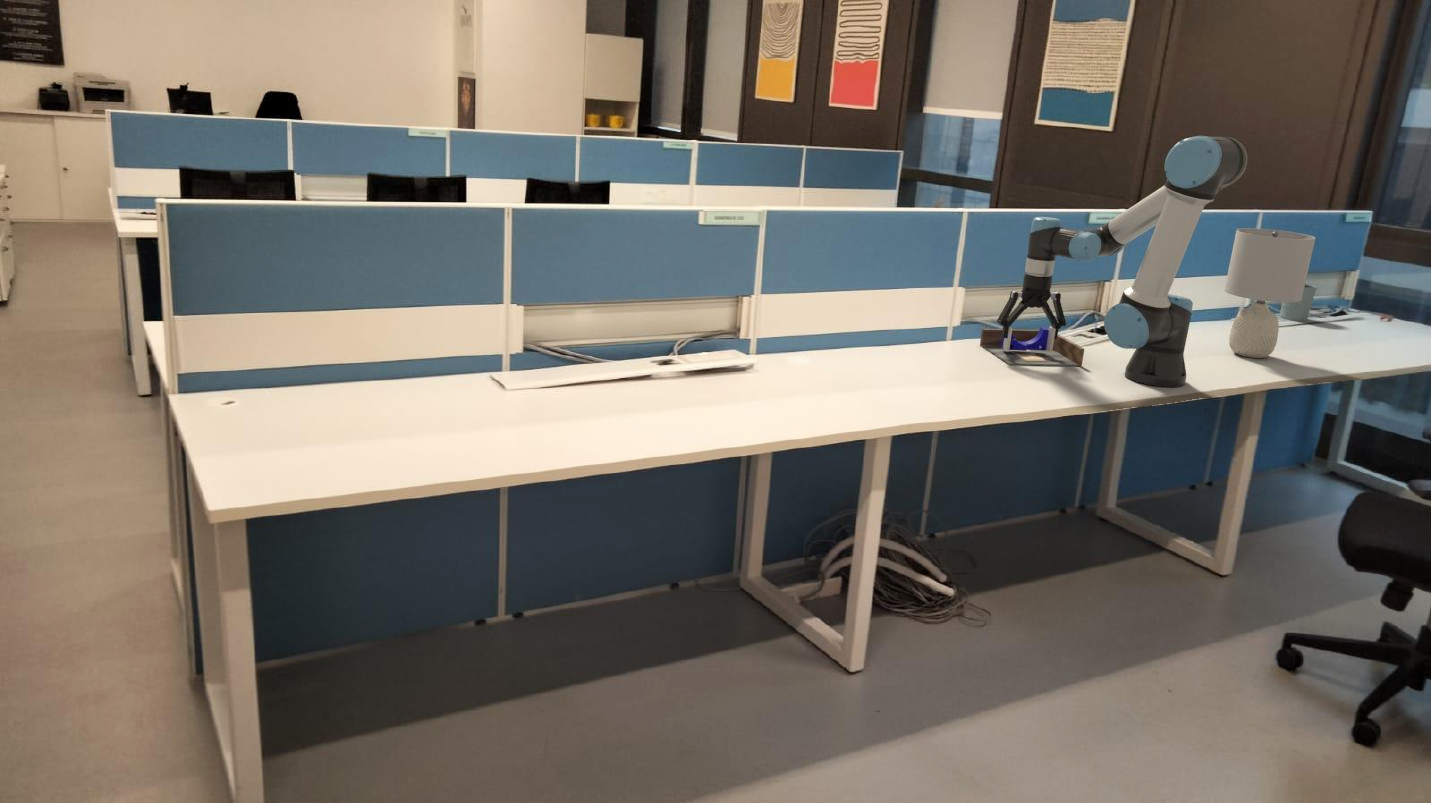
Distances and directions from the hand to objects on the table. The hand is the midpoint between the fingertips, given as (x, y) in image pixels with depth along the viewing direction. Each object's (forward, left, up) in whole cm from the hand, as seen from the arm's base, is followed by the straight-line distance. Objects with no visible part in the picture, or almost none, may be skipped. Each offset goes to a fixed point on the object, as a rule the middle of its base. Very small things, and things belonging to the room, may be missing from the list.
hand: (1027, 349), depth 294 cm
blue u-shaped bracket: (+3, 0, -1) cm, 3 cm away
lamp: (+6, -73, -2) cm, 73 cm away
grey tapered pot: (+58, -125, -2) cm, 138 cm away
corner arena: (+1, -1, -2) cm, 3 cm away
